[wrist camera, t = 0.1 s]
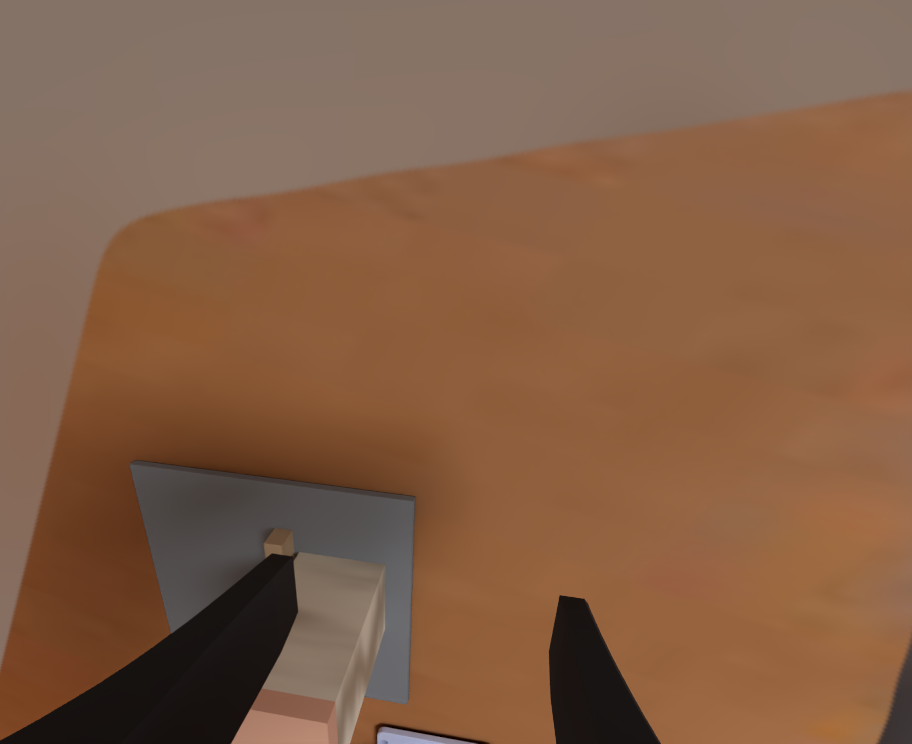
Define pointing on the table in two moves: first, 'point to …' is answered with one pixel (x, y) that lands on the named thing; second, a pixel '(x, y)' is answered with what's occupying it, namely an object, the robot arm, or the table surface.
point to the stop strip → (280, 543)
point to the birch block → (322, 656)
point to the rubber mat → (252, 521)
